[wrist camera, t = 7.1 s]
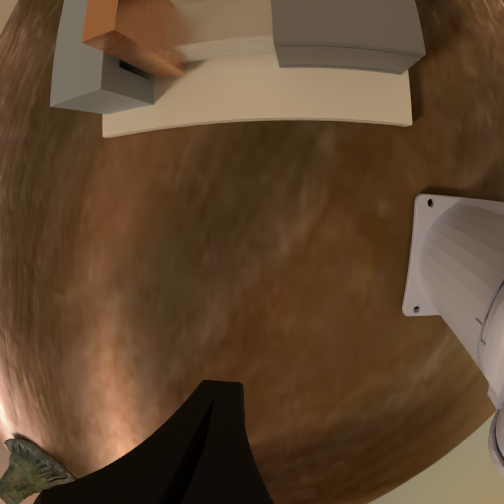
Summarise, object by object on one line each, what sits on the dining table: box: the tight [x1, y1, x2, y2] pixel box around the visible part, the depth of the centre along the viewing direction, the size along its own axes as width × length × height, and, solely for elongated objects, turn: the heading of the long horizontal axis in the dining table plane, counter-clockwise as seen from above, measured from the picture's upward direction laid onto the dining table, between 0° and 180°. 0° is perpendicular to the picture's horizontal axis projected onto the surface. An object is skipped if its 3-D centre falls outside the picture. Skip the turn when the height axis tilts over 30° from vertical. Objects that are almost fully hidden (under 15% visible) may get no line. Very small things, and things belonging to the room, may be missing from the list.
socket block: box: [50, 0, 154, 114], centre depth 13 cm, size 4×7×6 cm, turn 2°
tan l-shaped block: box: [81, 0, 276, 79], centre depth 11 cm, size 12×4×8 cm, turn 92°
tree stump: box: [0, 439, 76, 504], centre depth 34 cm, size 18×20×18 cm
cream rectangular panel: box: [103, 0, 426, 138], centre depth 13 cm, size 19×10×5 cm, turn 92°
